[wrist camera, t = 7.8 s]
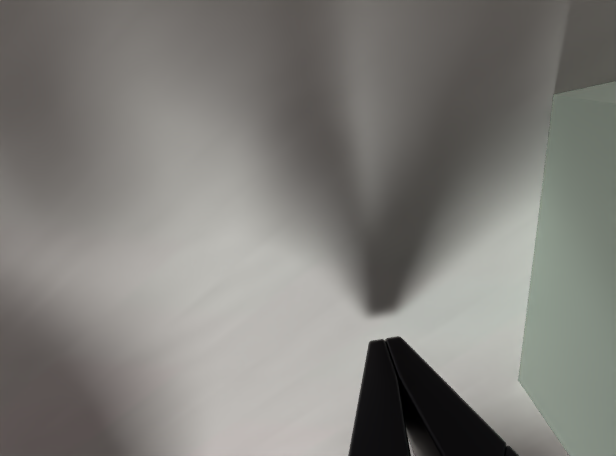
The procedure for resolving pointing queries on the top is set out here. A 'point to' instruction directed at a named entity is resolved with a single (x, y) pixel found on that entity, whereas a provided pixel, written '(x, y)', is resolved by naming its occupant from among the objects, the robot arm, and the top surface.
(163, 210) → the top surface
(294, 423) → the top surface
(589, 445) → the carton
